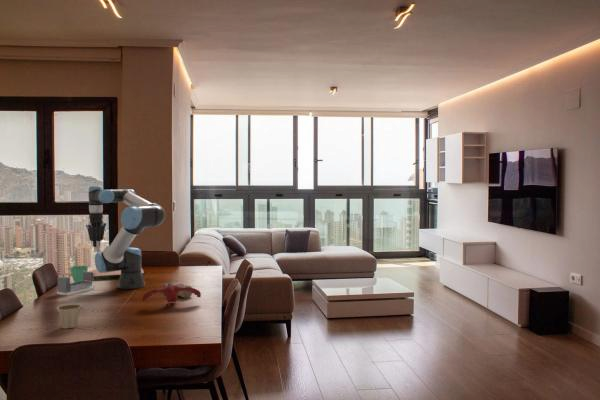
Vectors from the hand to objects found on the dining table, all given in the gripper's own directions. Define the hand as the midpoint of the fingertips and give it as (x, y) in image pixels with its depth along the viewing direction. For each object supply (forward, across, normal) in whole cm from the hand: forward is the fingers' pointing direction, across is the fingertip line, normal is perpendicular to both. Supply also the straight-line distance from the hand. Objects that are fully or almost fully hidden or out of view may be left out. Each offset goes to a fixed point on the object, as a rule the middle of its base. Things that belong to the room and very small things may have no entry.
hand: (96, 252), depth 299 cm
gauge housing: (+20, +15, 0) cm, 25 cm away
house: (+21, -29, -15) cm, 39 cm away
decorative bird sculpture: (+21, +15, +70) cm, 74 cm away
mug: (+21, -3, -18) cm, 28 cm away
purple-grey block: (+19, +9, 0) cm, 21 cm away
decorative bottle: (+21, -6, +56) cm, 60 cm away
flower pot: (+21, +63, +55) cm, 86 cm away
